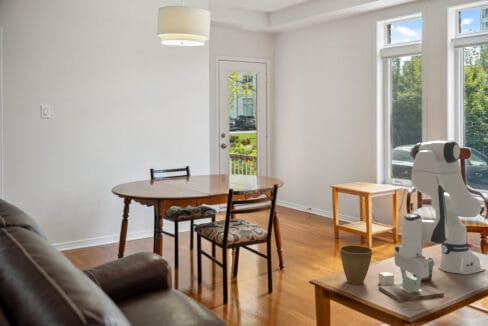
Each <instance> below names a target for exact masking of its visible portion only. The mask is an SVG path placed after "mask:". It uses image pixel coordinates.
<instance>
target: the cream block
mask: <svg viewBox="0 0 488 326" xmlns="http://www.w3.org/2000/svg"><path fill="white" fill-rule="evenodd" d="M378 284H380V286H384V285H393V284H395V274H393V273H391V272H389V271H384V272H378Z"/></svg>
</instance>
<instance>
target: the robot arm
mask: <svg viewBox="0 0 488 326" xmlns="http://www.w3.org/2000/svg"><path fill="white" fill-rule="evenodd" d="M411 155H412V158H413V160H414V161H413V165H412V168H411V169H412V170H411V176H410V177H411V178H410V181H411V185H412V187H413V188H414V189H415V190H416V191H418V192H419V193H421V194H423V195H425V196H428V197H430V198H431V202H430V203H431V207H432V209H433V210H434V212H435V219H434V220H432V219H431V220H430V219H423V218H422V216H421V215H420V214H418V213H406V214H405V215H404V216H403V217H402V223H401V234H400V235H401V241H400V242H401V243H400V245H396V246H394V251H395V252H394V264H395V266H396V267H398V268H400V273H401V278H402V279H403V277H406V276H408V274H407V272H408V273H409V274H412V275H413V274H414V275H416V278H417V280H416V281H415V285H417V286H420V282H421V280H422V278H427V277H428V276H429V267H428V262H427V260H428V259H427V258H426V256H425V255H423V242H427V243H429V242H430V243H433V244H437V245H441V246H440V247H441V255H440V260H439V264H438V269H439V270H441V271H443V272H448V273H454V274H461V275H465V276H466V275H471V274H475V273H480V272H485V270H486V267H484V266H482V265H481V261H480V258H479V256H478V255H477V254H475V253H474V252H473V251H472V250H470V248H471V249H473V248H474V244H473V243H470V242H469V243H468V242H467V230H468V229H467V226H466V225H465V224H464V223H463V222H462V221H461V220H460V217H462V218H476V217H478V216H479V214H480V213H481V211H482V203H481V201H480V200H479V199H478V198H477V197H475V195H473V194H472V193H471V192H470V190H469V189H468V187H467V186H466V184H465V181H464V179H463V176H462V171H461V166H460V163H459V159H460V157H461V147H460V145H459V144H458V143H457V142H455V141H454V140H434V141H426V142H423V141H422V142H418V143H416V144H415V145H414V147H412V154H411Z"/></svg>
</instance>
